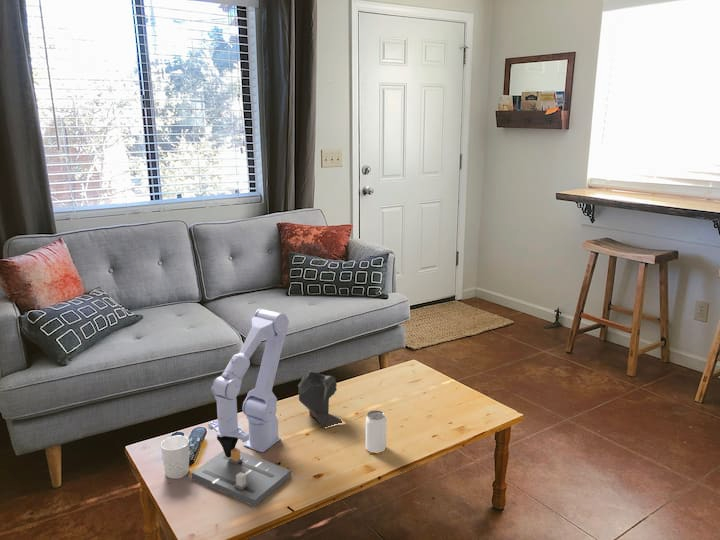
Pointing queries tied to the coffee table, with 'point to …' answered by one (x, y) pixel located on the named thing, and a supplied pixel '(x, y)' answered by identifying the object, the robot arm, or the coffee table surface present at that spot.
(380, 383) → the coffee table surface
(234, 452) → the fader tab orange
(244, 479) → the fader tab grey
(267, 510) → the coffee table surface
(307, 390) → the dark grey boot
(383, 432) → the can
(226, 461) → the console board
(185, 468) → the white cup
